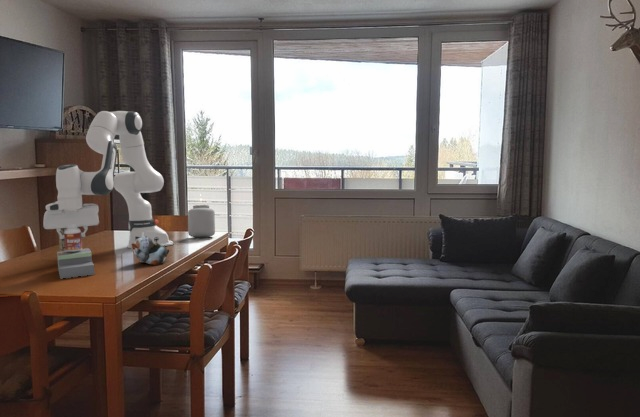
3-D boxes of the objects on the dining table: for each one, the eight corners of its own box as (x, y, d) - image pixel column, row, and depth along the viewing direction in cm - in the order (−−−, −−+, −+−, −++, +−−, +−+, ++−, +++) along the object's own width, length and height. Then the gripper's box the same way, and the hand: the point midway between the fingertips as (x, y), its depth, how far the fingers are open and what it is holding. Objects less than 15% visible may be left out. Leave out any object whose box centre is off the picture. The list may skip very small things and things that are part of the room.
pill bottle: (66, 252, 191) (63, 225, 190) (64, 250, 196) (62, 223, 195) (83, 250, 195) (81, 223, 193) (81, 248, 200) (79, 222, 198)
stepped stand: (90, 266, 204) (88, 247, 203) (94, 274, 189) (93, 254, 188) (58, 270, 198) (56, 250, 197) (60, 279, 183) (58, 258, 182)
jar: (191, 235, 280) (189, 193, 277) (217, 234, 282) (215, 192, 279) (186, 240, 262) (184, 195, 259) (214, 239, 263) (211, 194, 261)
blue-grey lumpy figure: (162, 265, 202) (144, 239, 198) (139, 275, 205) (120, 250, 200) (173, 249, 216) (156, 223, 211) (152, 258, 219) (134, 234, 214)
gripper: (97, 202, 201) (99, 234, 203) (41, 205, 191) (44, 239, 192) (99, 203, 196) (101, 236, 198) (41, 207, 185) (44, 241, 187)
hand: (73, 238), depth 195 cm, fingers closed on pill bottle, 6 cm apart
